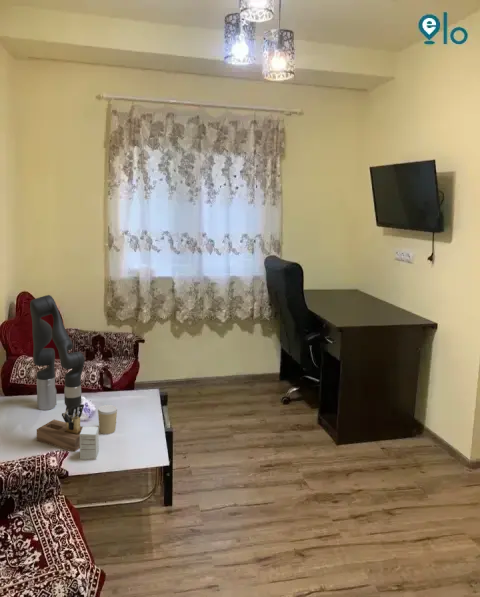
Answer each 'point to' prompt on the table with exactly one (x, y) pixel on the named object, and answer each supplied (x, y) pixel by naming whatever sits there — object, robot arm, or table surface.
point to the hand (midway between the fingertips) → (73, 428)
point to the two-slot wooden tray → (58, 435)
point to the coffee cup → (107, 419)
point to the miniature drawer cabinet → (89, 443)
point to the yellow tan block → (74, 426)
